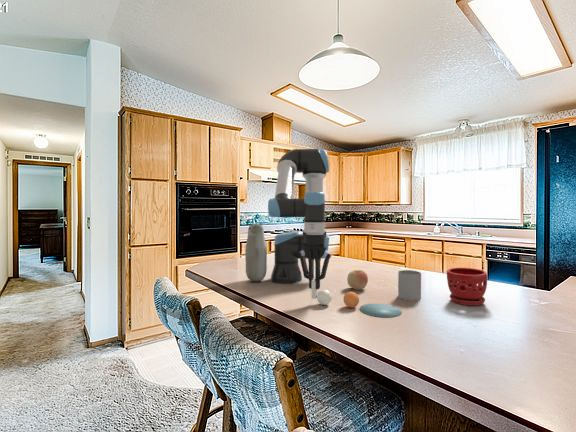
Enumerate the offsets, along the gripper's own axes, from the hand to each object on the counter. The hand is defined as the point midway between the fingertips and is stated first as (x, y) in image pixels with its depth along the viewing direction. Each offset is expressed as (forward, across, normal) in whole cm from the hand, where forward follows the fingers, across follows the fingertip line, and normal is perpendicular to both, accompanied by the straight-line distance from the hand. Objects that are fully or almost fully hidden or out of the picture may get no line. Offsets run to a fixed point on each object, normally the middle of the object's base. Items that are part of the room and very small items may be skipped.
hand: (314, 297), depth 117 cm
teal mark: (+3, +23, +2) cm, 24 cm away
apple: (+2, +11, +27) cm, 29 cm away
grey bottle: (+2, -37, +24) cm, 44 cm away
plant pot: (+3, +52, +23) cm, 57 cm away
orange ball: (0, +13, +1) cm, 13 cm away
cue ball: (0, +4, +1) cm, 4 cm away
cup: (+3, +32, +22) cm, 39 cm away
